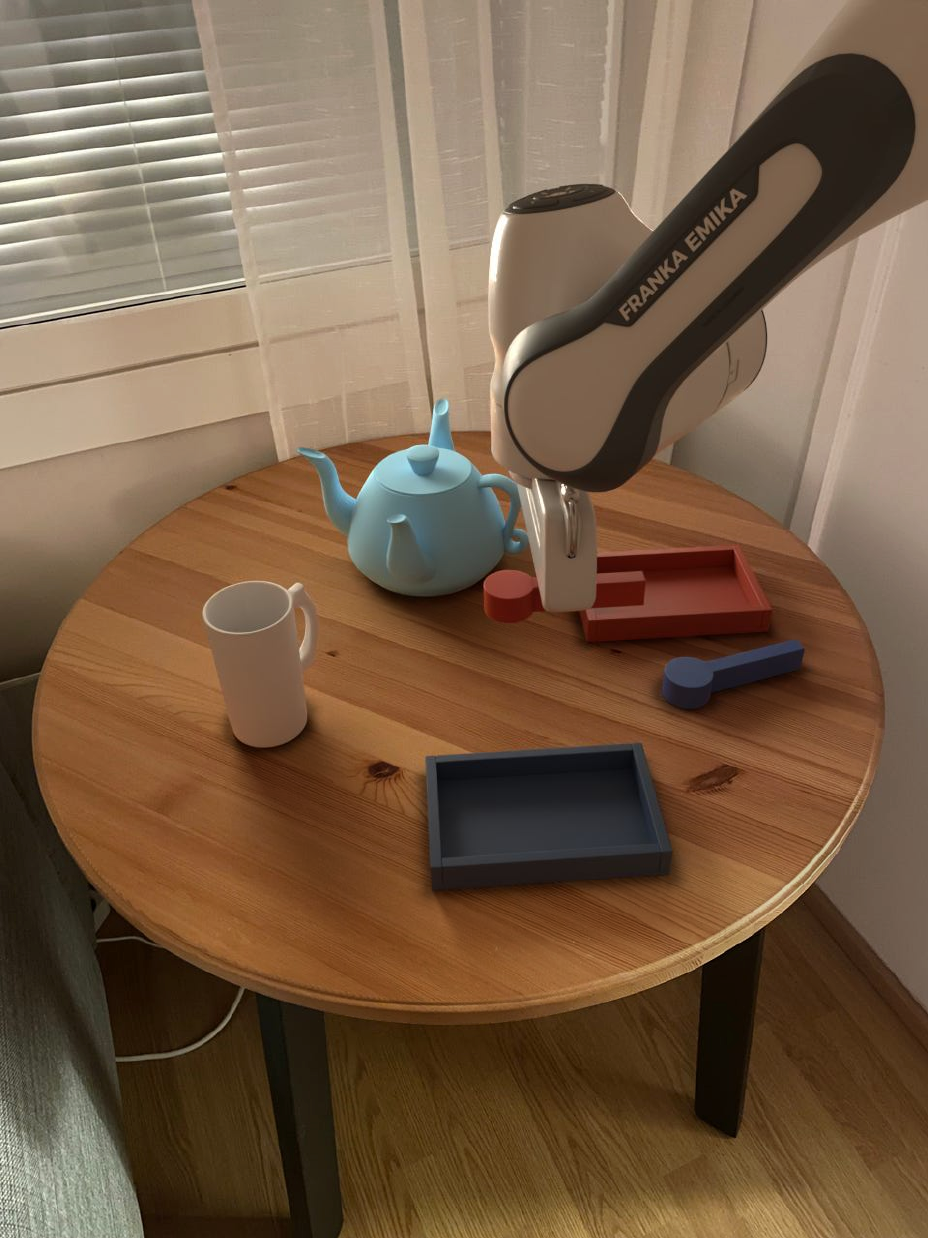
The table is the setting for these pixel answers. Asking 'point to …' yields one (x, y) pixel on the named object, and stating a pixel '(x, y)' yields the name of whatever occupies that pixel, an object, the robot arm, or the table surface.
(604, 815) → the blue tray
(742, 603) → the red tray
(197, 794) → the table surface
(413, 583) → the teapot
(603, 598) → the red spoon
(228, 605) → the mug
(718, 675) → the blue spoon
